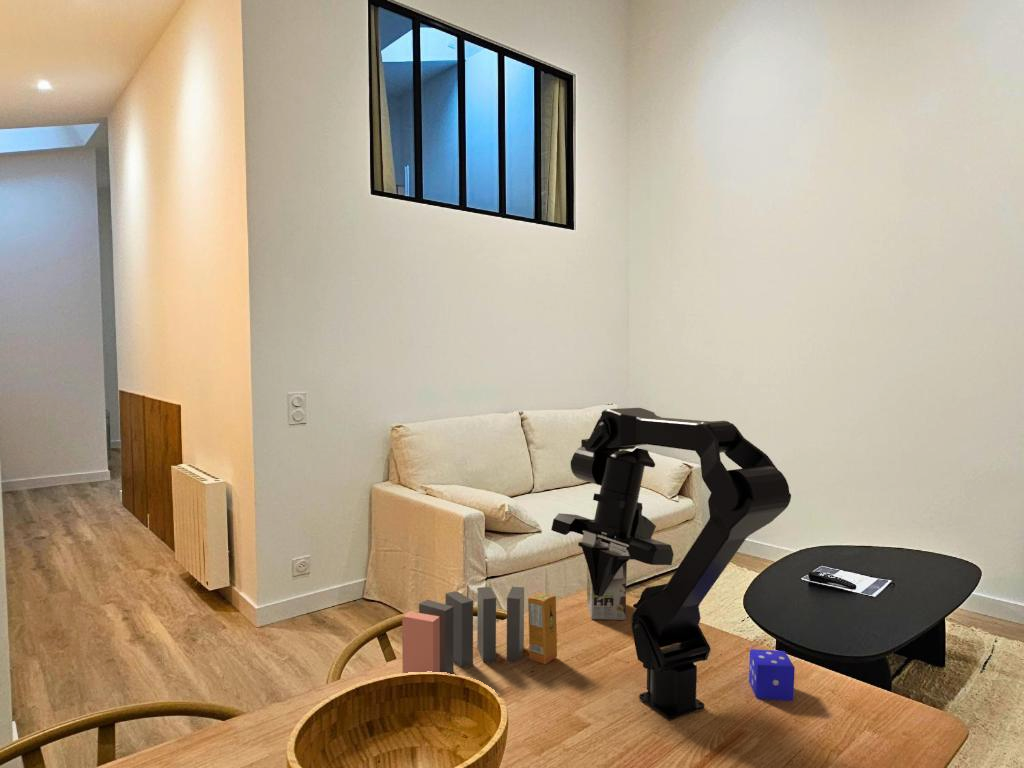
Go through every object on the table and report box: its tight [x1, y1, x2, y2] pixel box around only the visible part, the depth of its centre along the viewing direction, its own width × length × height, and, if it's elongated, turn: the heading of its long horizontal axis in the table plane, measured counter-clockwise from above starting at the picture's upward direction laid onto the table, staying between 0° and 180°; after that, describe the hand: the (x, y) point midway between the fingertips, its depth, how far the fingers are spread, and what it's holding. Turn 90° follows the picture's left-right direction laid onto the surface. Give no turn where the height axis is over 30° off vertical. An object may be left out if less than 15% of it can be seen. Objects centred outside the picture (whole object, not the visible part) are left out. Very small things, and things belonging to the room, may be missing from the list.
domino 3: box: [444, 590, 474, 668], centre depth 108 cm, size 2×5×10 cm, turn 35°
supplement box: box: [527, 592, 558, 665], centre depth 108 cm, size 3×3×10 cm
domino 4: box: [476, 586, 497, 663], centre depth 110 cm, size 2×5×10 cm, turn 13°
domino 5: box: [506, 586, 525, 663], centre depth 110 cm, size 2×5×10 cm, turn 171°
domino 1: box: [401, 610, 440, 674], centre depth 100 cm, size 2×5×10 cm, turn 68°
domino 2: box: [418, 599, 454, 674], centre depth 105 cm, size 2×5×10 cm, turn 57°
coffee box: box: [586, 519, 628, 621], centre depth 128 cm, size 9×6×16 cm
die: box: [748, 648, 796, 702], centre depth 99 cm, size 5×5×5 cm
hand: (598, 595), depth 103 cm, fingers closed
